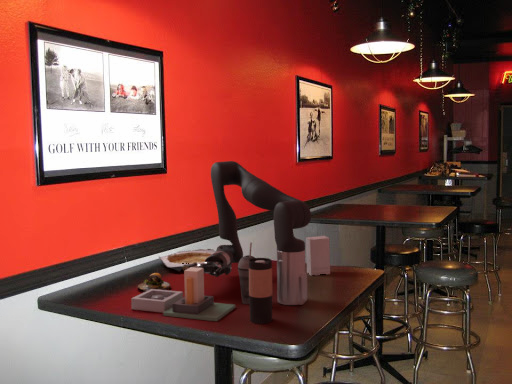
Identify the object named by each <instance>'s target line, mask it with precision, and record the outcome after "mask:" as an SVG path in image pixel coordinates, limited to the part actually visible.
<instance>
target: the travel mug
mask: <svg viewBox="0 0 512 384" xmlns="http://www.w3.org/2000/svg"><path fill="white" fill-rule="evenodd" d="M272 261H273V260H272V259H271V258H269V257H255V258H253V259H250V260H249V304H248V306H249V320H250V322H251V323H253V324H258V325H262V324H263V325H264V324H265V325H266V324H269V323H271V322H272V321H273V265H272V264H273V263H272Z"/></svg>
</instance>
